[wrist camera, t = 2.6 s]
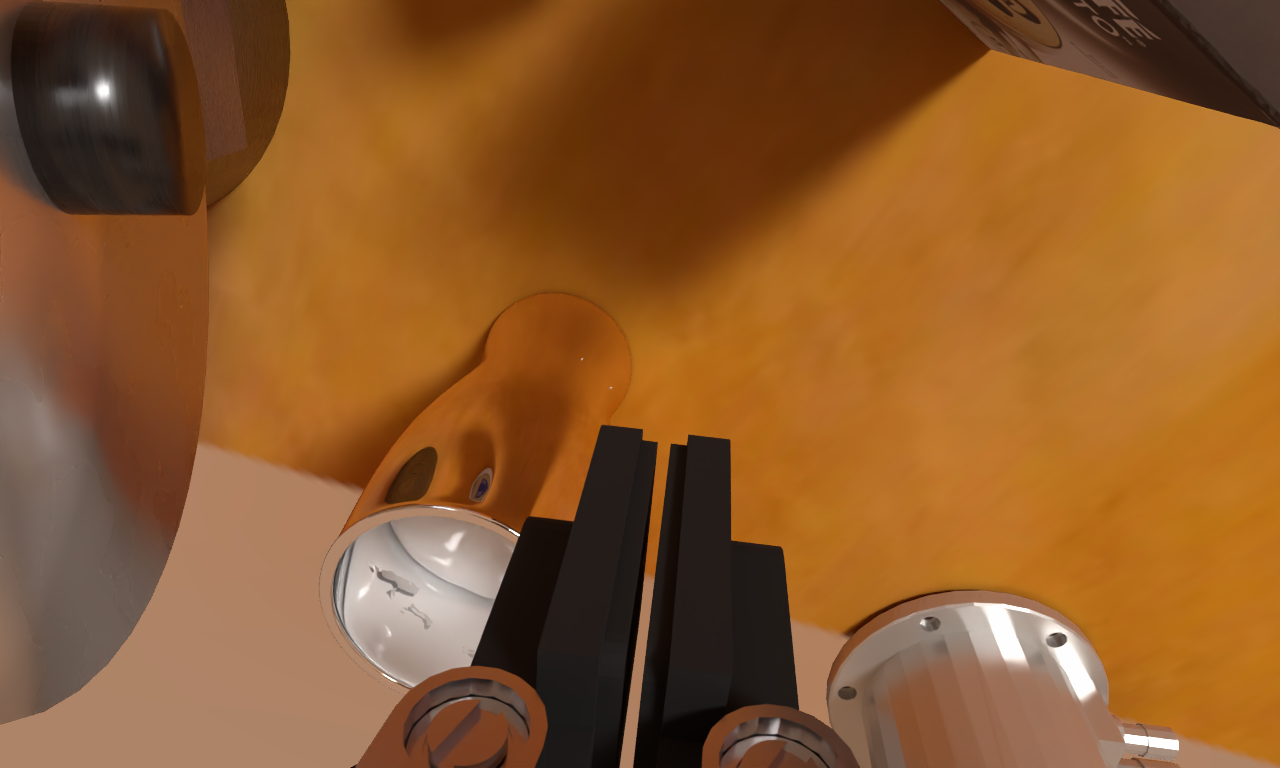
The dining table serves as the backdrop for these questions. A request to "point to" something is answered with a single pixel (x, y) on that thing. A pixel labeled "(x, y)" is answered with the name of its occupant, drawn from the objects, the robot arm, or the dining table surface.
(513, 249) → the dining table surface
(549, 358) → the beer glass
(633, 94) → the dining table surface
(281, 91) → the cooker pot
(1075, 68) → the coffee box
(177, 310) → the lid
